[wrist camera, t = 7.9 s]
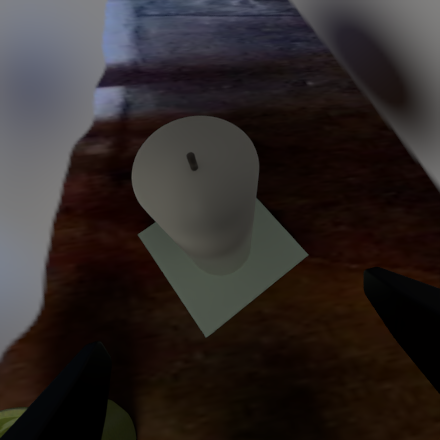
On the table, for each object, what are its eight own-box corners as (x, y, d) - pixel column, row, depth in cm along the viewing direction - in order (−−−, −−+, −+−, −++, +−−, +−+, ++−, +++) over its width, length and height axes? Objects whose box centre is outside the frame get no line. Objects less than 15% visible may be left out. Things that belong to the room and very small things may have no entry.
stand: (302, 259, 22) (308, 254, 21) (209, 335, 21) (206, 337, 19) (231, 179, 26) (230, 169, 24) (145, 240, 24) (137, 234, 22)
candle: (262, 238, 21) (288, 139, 9) (226, 288, 20) (201, 250, 8) (214, 205, 23) (181, 82, 11) (177, 251, 22) (95, 171, 10)
